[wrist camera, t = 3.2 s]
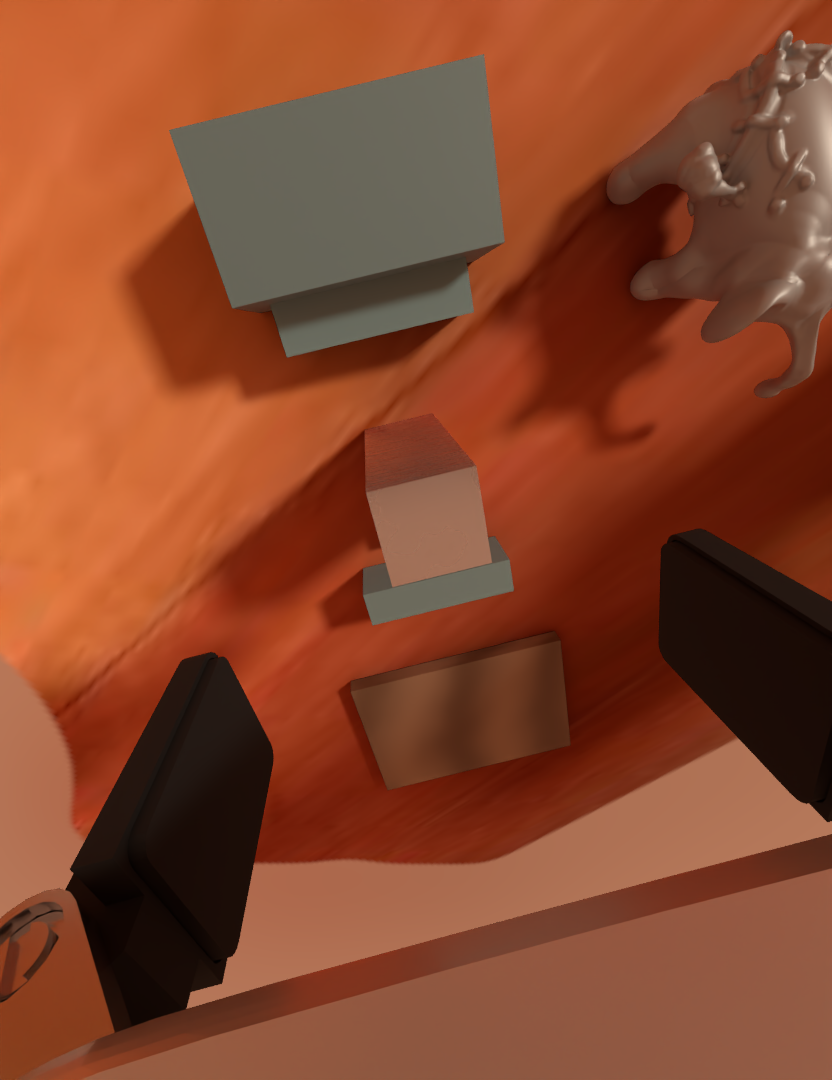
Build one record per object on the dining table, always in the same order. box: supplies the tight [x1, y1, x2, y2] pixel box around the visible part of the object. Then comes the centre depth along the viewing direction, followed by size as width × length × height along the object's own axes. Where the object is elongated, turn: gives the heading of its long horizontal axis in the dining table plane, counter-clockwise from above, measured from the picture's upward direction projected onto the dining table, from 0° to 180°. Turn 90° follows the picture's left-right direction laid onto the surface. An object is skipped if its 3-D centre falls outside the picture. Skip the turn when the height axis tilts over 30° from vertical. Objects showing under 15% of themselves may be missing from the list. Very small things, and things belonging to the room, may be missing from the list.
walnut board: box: [351, 631, 571, 790], centre depth 32 cm, size 14×10×1 cm
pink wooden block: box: [365, 414, 492, 587], centre depth 20 cm, size 4×6×10 cm, turn 13°
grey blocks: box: [169, 54, 514, 625], centre depth 21 cm, size 10×21×5 cm, turn 12°
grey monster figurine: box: [607, 30, 832, 398], centre depth 18 cm, size 9×12×8 cm
